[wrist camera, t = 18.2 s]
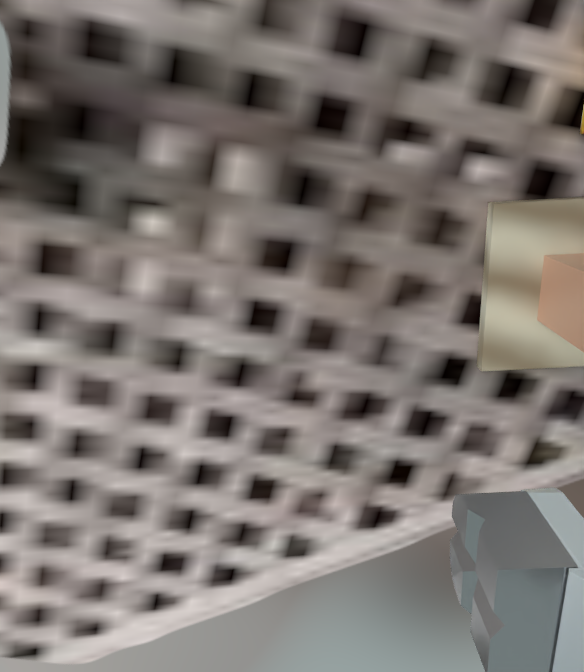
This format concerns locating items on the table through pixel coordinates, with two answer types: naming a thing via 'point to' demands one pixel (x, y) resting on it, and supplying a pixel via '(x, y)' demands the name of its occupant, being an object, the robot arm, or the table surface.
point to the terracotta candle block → (563, 297)
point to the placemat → (525, 282)
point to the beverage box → (582, 123)
